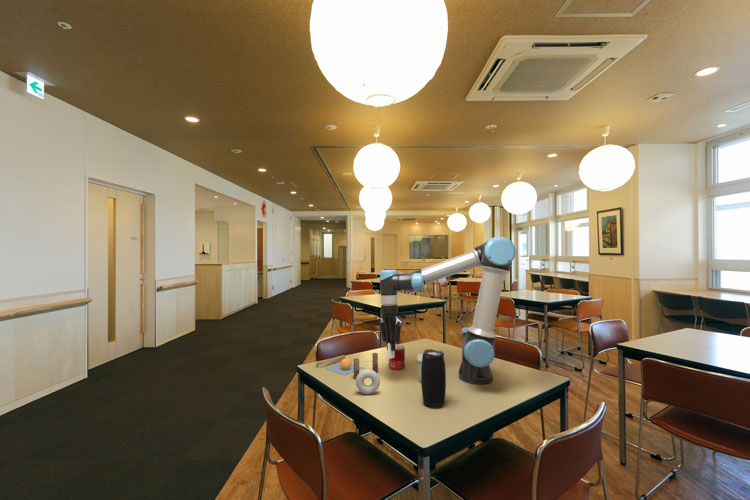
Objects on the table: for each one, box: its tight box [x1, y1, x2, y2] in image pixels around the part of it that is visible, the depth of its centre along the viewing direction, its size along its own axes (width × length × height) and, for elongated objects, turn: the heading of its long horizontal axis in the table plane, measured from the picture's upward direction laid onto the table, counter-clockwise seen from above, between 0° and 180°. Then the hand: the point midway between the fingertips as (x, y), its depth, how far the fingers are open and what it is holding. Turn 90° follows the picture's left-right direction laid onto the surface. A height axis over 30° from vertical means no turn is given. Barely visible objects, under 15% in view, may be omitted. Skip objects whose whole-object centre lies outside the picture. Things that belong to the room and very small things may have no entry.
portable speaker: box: [420, 348, 447, 410], centre depth 124 cm, size 9×9×20 cm
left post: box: [353, 357, 360, 381], centre depth 151 cm, size 3×3×9 cm
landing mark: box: [324, 363, 365, 376], centre depth 165 cm, size 14×14×1 cm
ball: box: [339, 357, 352, 370], centre depth 164 cm, size 6×6×6 cm
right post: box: [371, 352, 379, 374], centre depth 160 cm, size 3×3×9 cm
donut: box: [355, 368, 381, 395], centre depth 133 cm, size 10×4×10 cm, turn 91°
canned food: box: [388, 343, 406, 371], centre depth 165 cm, size 8×8×11 cm
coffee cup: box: [416, 352, 424, 384], centre depth 146 cm, size 9×9×12 cm
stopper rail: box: [315, 355, 346, 369], centre depth 173 cm, size 2×18×2 cm, turn 137°
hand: (391, 357), depth 145 cm, fingers closed
